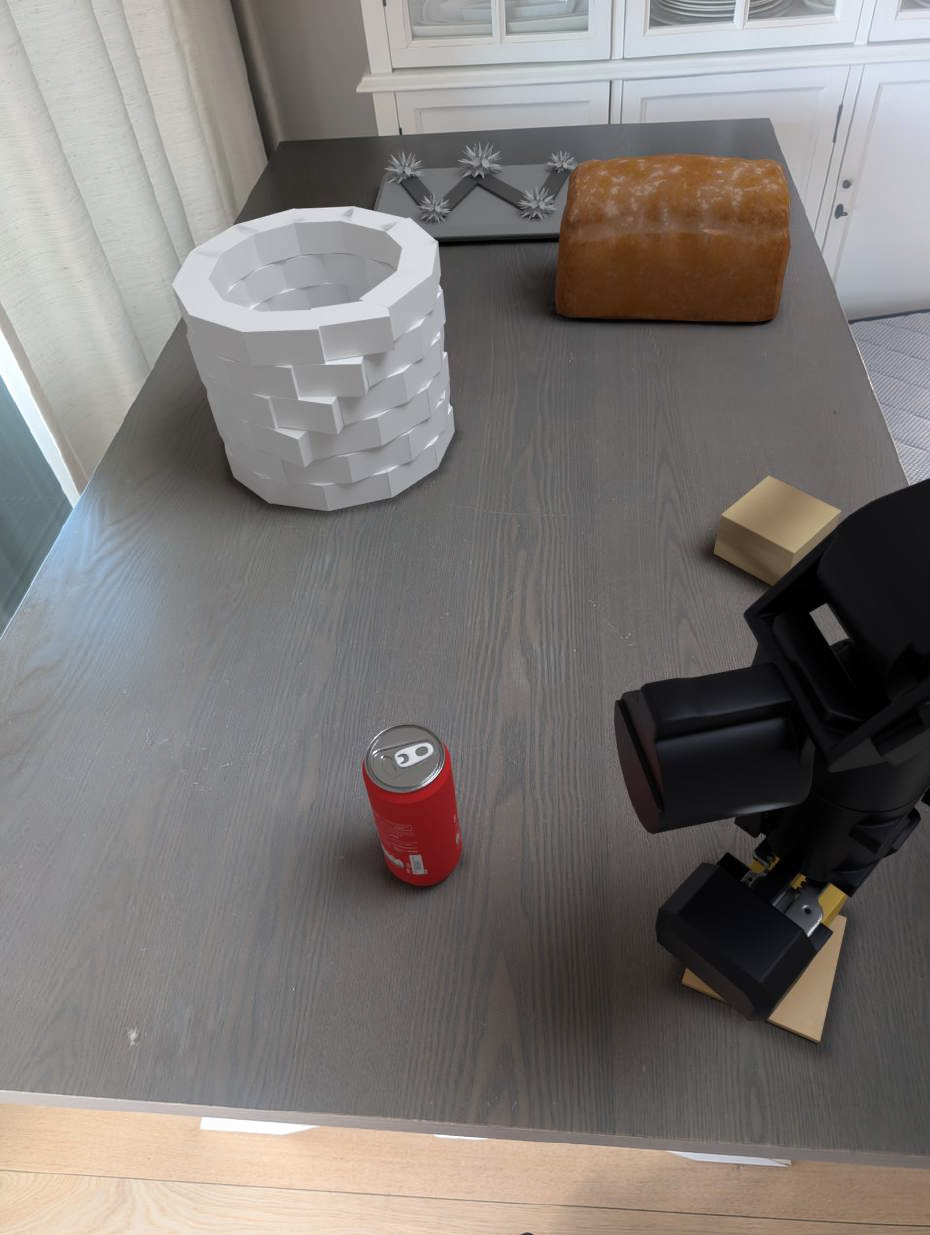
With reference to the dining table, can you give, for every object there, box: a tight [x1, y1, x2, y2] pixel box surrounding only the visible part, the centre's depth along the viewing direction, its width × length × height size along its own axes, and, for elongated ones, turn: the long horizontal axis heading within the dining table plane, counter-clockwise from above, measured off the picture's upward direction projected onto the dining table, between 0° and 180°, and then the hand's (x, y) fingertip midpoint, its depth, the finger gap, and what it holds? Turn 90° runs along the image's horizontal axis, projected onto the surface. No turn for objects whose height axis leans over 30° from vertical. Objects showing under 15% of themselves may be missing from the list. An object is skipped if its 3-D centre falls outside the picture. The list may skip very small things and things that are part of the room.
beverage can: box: [361, 722, 463, 887], centre depth 56 cm, size 5×5×12 cm
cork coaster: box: [681, 914, 848, 1044], centre depth 54 cm, size 8×8×1 cm
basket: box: [170, 205, 456, 512], centre depth 86 cm, size 25×24×19 cm
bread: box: [554, 153, 792, 323], centre depth 102 cm, size 14×26×16 cm, turn 81°
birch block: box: [713, 475, 842, 587], centre depth 76 cm, size 7×7×4 cm
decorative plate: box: [372, 140, 580, 243], centre depth 125 cm, size 30×22×7 cm
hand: (784, 910), depth 50 cm, fingers closed on mustard cube, 4 cm apart
